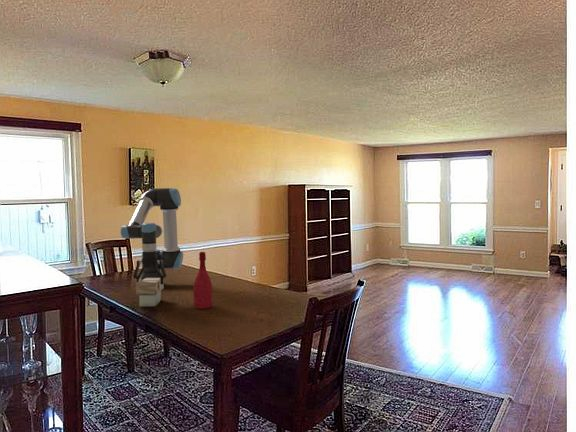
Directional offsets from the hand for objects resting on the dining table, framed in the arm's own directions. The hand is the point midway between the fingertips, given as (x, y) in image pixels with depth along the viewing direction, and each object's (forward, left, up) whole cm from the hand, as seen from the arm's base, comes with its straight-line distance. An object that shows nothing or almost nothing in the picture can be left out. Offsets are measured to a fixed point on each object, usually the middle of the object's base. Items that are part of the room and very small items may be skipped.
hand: (150, 290), depth 238 cm
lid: (0, 0, -1) cm, 1 cm away
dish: (0, 0, -7) cm, 7 cm away
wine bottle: (+11, +30, -8) cm, 33 cm away
